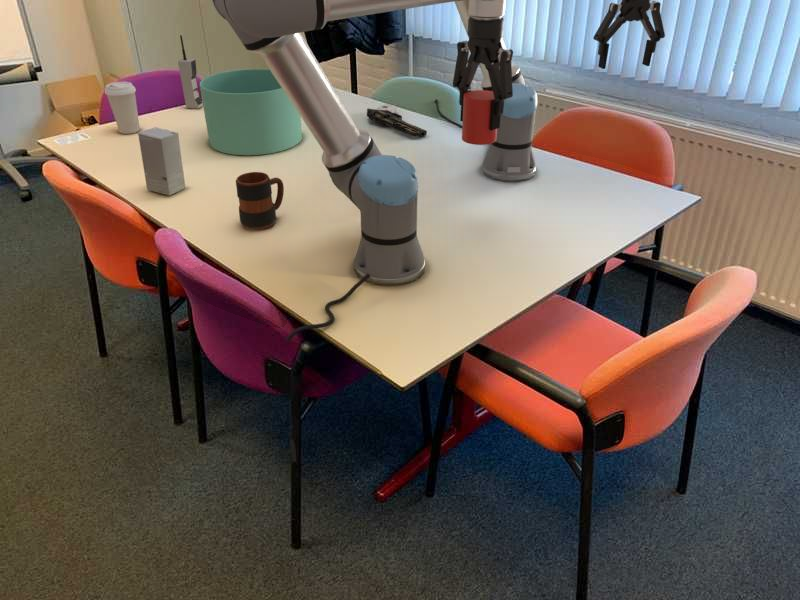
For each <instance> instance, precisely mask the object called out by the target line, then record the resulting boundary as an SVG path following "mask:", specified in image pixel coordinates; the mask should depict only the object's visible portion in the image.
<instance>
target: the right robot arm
mask: <svg viewBox="0 0 800 600" xmlns="http://www.w3.org/2000/svg"><path fill="white" fill-rule="evenodd" d="M453 3H454V5H455V6H456V9H457V12H458V14H459V17H460V20H461V23H462V24H463V27H464V31H465V33H466V35H467V39H469V36H468V19H469V18H470V17H471V16H470V15H469V14H468V10H469V0H463V1H454V2H453ZM661 6H662V5H661V2H660V1H656V0H653V1H651V0H621V2H620V3H615V2H610V4H609V6H608V9H607V13H606V15H604V18H603V20H602V21H601V23H600V25H599V26H598V28H597V30H596V32H595V33H594V35H593V40H594V41H596V42H598V49H597V55H598V56H599V57H598V58H599V60H598V66H597V67H598V68H600V69H602V70H605V69H606V67H607V62H608V54H609V49H610V43H609V41H610V40H611V38H612V37H613V36H614V35H615V34H616V33H617V32H618V30H620V28H621V27H622V26H623V25H624V24H626V23H627V22H633V21H634V22H640V23H641V25H642V27H643V28H644V30H645V32H646V34H647V36H648V38H649V39H646V42H645V46H644V53H643V57H642V61H641V62H642V63H641V64H642V65H644V66H646V67H650V66H651V61H652V56H653V54H654V53H655V52H656V47H657V43H658V42H660V40H661V39H664V38H665V37H666V34H665V29H664V24H663V20H662V15H661ZM649 11H650V14H651V18H652V22H651V20H650V17H649V15H648V12H649ZM619 12H620V13H619ZM618 13H619V14H618ZM617 14H618V15H617ZM616 15H617V16H616ZM614 19H615V20H614ZM652 23H653V24H652ZM501 45H502V48H504V49H506V50H508V49H507V46H506V43H505V41H504V37H502V38H501ZM499 56H500V55H498V58H499ZM499 62H500V59H499ZM492 64H494V62H493V63H492ZM478 67H479V68H480V71H481V73H482V76H483V77H482V81H481V83H480V87H481V88H482V89H481V90H487V91H493V90H492V86H491V82H490V78H489V73H488V70H487V69H486V68H485V65H484V64H482V63H480V64H479V66H478ZM511 67H512V88H513V96H512V97H511V98H508V99H505V100H504V109H503V114H502V115H501V117H500V128H497V137H496V141H495V142H494V143H491V144H489V146H488V149H487V151H486V153H485V156H484V158H483V160H482V162H481V173H482V174H483V175H484V176H485V177H487V178H490V179H492V180H495V181H500V182H510V183H511V182H513V183H514V182H524V181H527V180H530V179H532V178H533V177H535V175H536V170H537V166H536V159H535V156H534V152H533V138H534V130H535V123H536V122H535V121H536V113H537V108H538V94H537V92H536V90H535V89H534V88H533V87H532V86H528V85H527V84H526V82H525V79H524V77H523V74H522V71H521V68H520V66H518V65H516V64H513V63H512V61H511ZM499 69H500V66H499ZM499 95H500V93H499ZM434 103H435V106H436V110H437V113H438V114H439V115H440V117H442V119H444V120H445V121H447V122H449V123H450V124H452V125H454V126H456V127H458V128H459V129H462V124H460V123H458V122H456V121H453V120H452V119H450V118H448V117H447V116H446V115H445V114H443V112H442V111H441V109H440V104H439V99H438V98H436V99H435V101H434Z"/></svg>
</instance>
